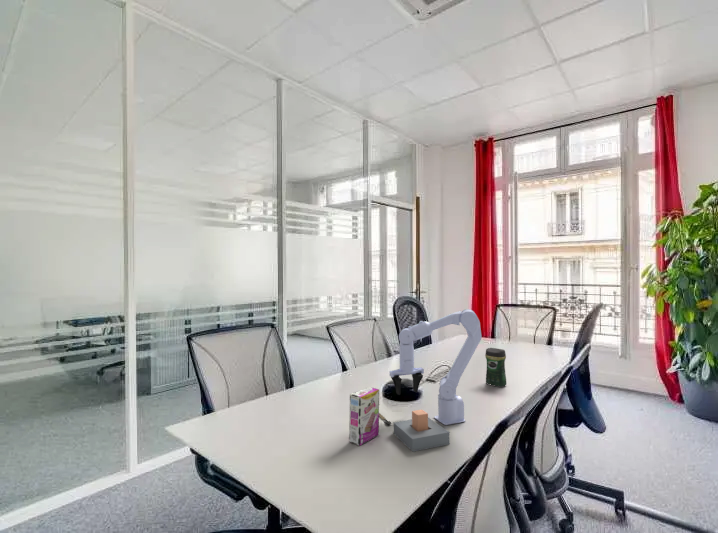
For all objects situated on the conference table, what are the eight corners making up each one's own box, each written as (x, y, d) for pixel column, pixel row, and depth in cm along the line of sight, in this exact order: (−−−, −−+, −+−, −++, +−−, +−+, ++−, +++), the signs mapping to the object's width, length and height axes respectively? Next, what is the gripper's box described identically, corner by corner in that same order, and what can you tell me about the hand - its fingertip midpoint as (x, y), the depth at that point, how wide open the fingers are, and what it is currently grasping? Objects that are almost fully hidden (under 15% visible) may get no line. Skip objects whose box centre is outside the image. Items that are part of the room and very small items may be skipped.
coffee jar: (508, 385, 185) (508, 348, 186) (501, 388, 180) (501, 351, 180) (490, 381, 192) (490, 346, 193) (483, 384, 187) (482, 348, 187)
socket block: (427, 427, 135) (427, 416, 135) (449, 444, 122) (449, 432, 122) (393, 433, 130) (393, 422, 130) (412, 451, 117) (412, 439, 117)
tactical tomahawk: (360, 410, 155) (360, 407, 155) (374, 407, 157) (374, 404, 157) (377, 429, 135) (376, 426, 135) (393, 425, 137) (393, 422, 137)
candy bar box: (360, 447, 120) (359, 397, 120) (348, 442, 123) (348, 394, 124) (380, 435, 129) (379, 388, 129) (369, 431, 132) (368, 386, 132)
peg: (422, 435, 129) (421, 409, 129) (428, 439, 125) (427, 413, 125) (412, 436, 127) (412, 411, 128) (417, 441, 124) (417, 415, 124)
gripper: (417, 355, 152) (417, 387, 152) (386, 358, 147) (386, 392, 147) (426, 358, 145) (426, 393, 145) (393, 362, 140) (394, 397, 140)
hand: (407, 392), depth 146 cm, fingers open, 7 cm apart
